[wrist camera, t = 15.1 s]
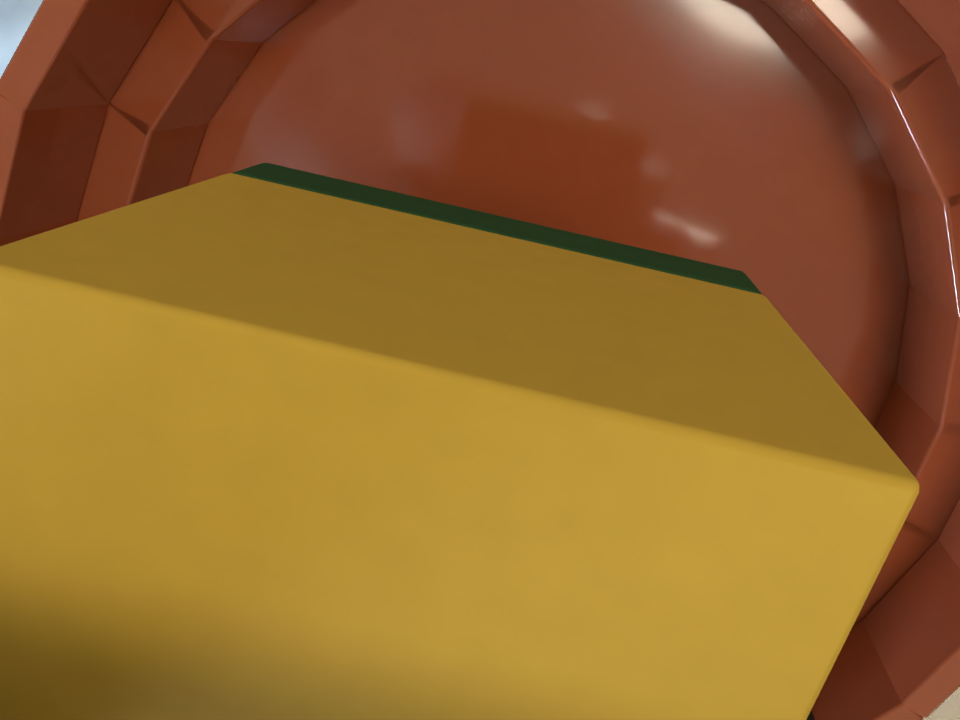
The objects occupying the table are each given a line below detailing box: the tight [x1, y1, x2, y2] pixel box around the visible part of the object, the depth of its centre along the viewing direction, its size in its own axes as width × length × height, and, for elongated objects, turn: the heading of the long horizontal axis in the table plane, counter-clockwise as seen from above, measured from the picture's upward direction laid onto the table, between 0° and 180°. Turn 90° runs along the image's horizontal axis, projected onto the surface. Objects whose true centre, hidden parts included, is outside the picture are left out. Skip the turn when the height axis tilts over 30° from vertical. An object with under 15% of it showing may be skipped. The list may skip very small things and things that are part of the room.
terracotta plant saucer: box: [0, 0, 960, 720], centre depth 16 cm, size 20×20×6 cm
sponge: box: [0, 163, 919, 720], centre depth 9 cm, size 6×9×5 cm, turn 168°
